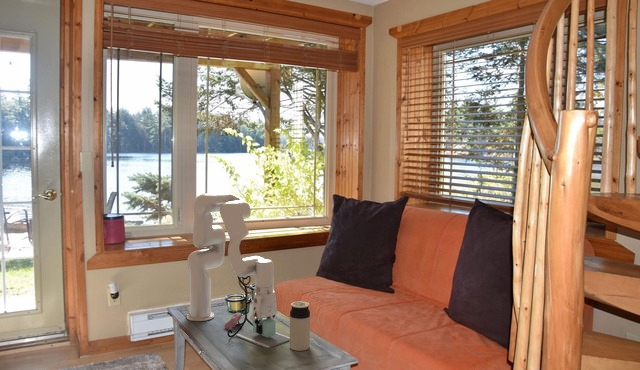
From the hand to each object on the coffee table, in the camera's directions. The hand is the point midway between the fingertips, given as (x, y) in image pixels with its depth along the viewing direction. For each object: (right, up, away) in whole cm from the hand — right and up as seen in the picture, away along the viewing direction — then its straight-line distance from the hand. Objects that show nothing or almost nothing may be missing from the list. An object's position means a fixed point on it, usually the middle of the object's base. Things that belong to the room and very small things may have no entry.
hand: (264, 331), depth 233 cm
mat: (0, -3, 0) cm, 3 cm away
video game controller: (-15, -2, +15) cm, 21 cm away
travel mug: (+15, -4, -10) cm, 19 cm away
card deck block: (0, -1, 0) cm, 1 cm away
